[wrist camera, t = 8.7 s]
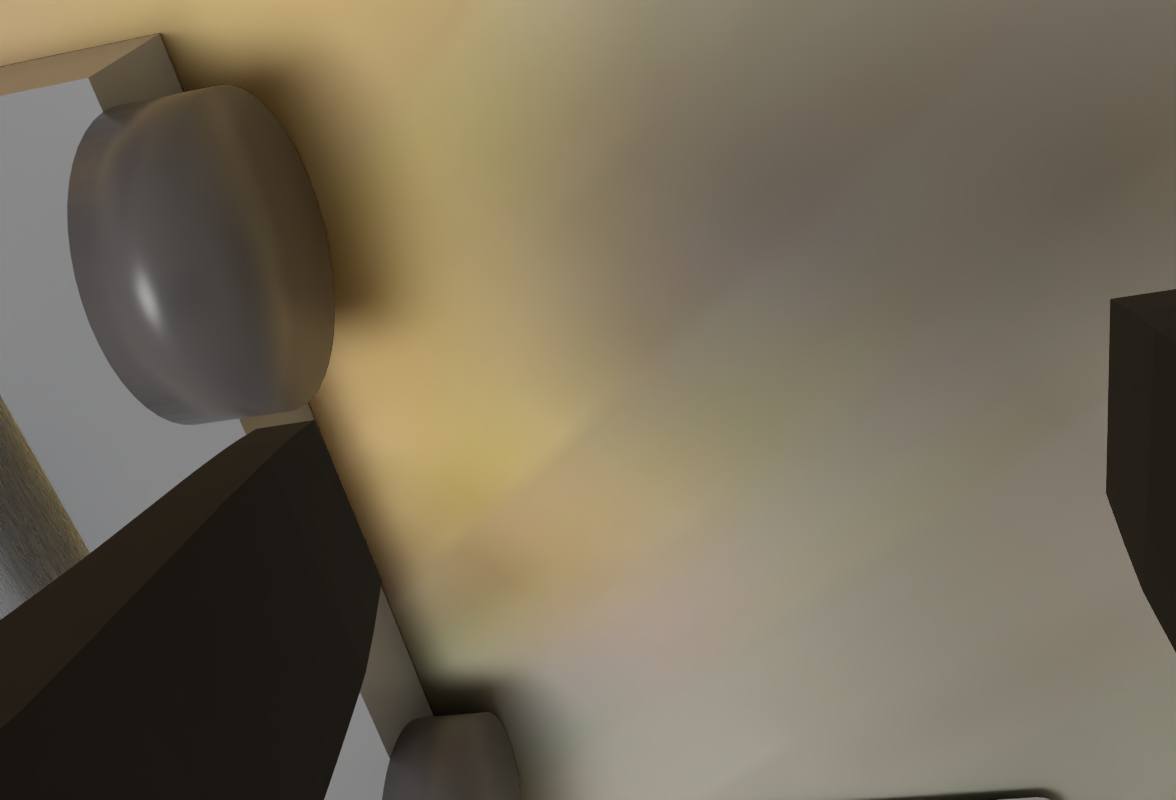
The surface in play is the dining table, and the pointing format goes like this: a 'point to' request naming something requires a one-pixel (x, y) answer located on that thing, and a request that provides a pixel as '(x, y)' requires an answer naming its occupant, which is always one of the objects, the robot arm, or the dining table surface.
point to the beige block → (30, 522)
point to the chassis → (186, 337)
